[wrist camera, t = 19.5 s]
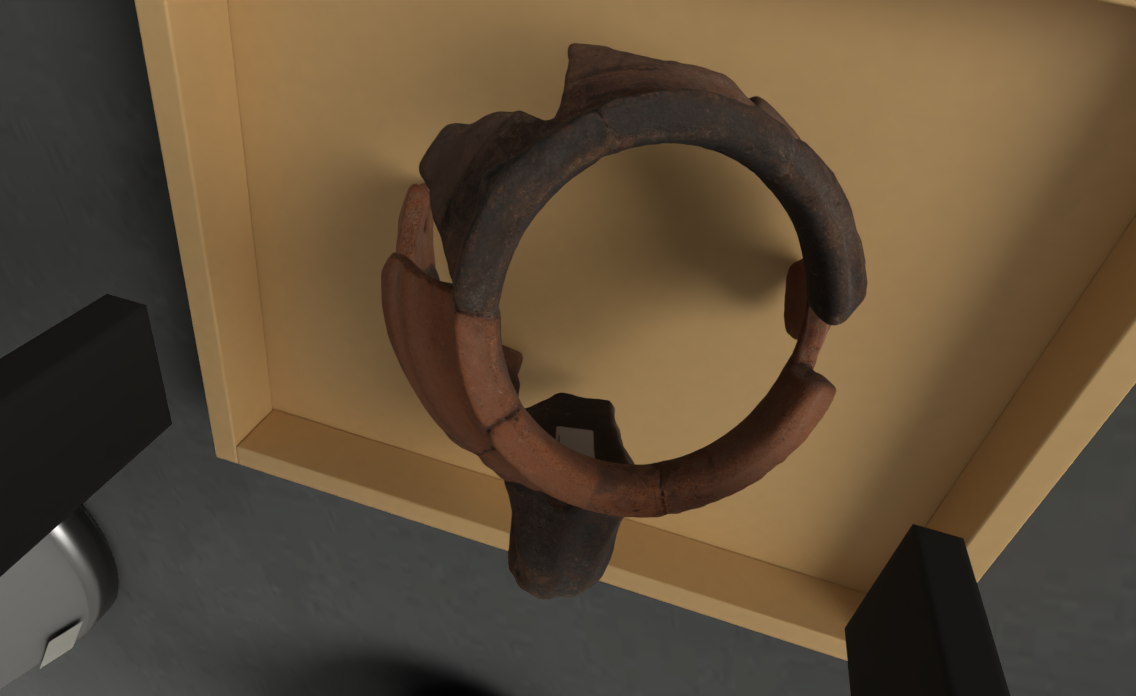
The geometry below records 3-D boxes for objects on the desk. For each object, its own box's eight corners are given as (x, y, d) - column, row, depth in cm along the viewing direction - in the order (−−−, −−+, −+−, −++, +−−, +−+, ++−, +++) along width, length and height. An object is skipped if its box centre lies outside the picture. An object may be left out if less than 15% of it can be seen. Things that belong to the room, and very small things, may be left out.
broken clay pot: (377, 54, 17) (356, 8, 9) (746, 73, 19) (983, 49, 11) (397, 503, 20) (396, 739, 13) (703, 479, 22) (858, 668, 15)
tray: (262, 410, 25) (215, 457, 23) (184, -239, 14) (85, -260, 12) (891, 606, 22) (902, 679, 20) (1329, -18, 12) (1441, 1, 10)
